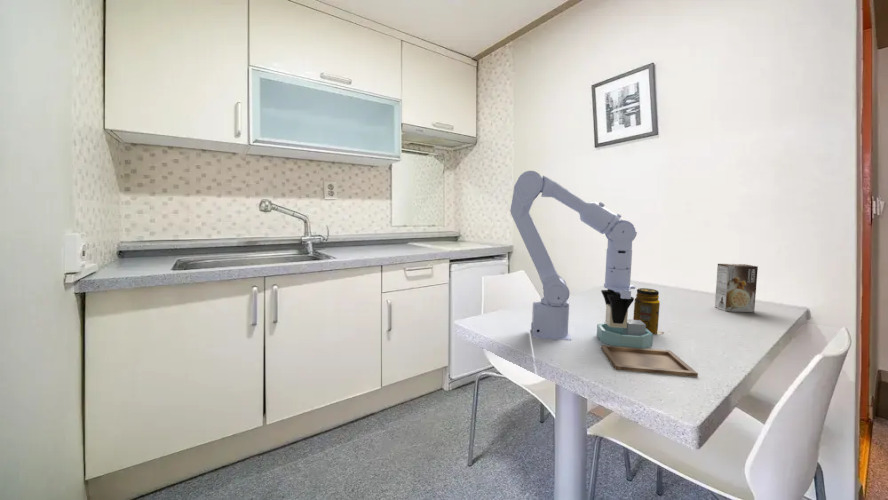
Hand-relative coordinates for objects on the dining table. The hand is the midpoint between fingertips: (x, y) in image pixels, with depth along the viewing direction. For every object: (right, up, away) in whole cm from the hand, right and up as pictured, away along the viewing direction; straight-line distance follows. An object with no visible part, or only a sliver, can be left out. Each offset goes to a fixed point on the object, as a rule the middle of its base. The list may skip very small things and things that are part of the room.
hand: (615, 320), depth 88 cm
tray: (0, -7, -13) cm, 14 cm away
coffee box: (+59, -3, +34) cm, 68 cm away
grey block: (+4, -5, -1) cm, 7 cm away
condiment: (+12, -5, +8) cm, 15 cm away
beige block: (0, -1, 0) cm, 1 cm away
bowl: (+2, -6, 0) cm, 6 cm away
